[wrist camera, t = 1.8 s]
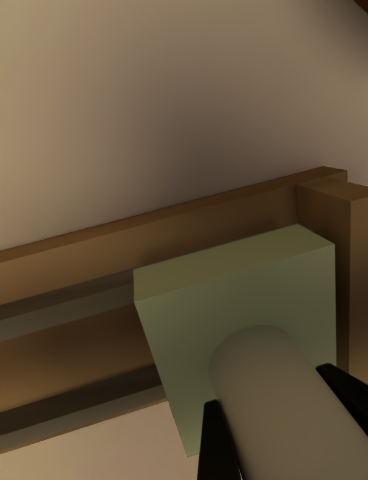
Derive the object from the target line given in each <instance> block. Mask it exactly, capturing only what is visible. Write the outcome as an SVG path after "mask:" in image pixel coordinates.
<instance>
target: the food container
mask: <svg viewBox="0 0 368 480" xmlns="http://www.w3.org/2000/svg"><path fill="white" fill-rule="evenodd" d="M354 1H355V2H356V3H357V4H358V5H359V6H360V7H361V8H362V9H363V10H365V11H366V12H367V13H368V0H354Z"/></svg>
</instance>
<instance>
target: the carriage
mask: <svg viewBox="0 0 368 480" xmlns="http://www.w3.org/2000/svg"><path fill="white" fill-rule="evenodd" d="M133 275H134V303H135V306H136V309H137V312H138V315H139V318H140V321H141V323H142V326H143V329H144V332H145V335H146V338H147V341H148V344H149V347H150V350H151V353H152V355H153V358H154V361H155V364H156V367H157V370H158V373H159V376H160V379H161V382H162V385H163V387H164V390H165V393H166V396H167V399H168V402H169V405H170V408H171V411H172V414H173V417H174V419H175V422H176V425H177V428H178V431H179V434H180V437H181V440H182V443H183V446H184V449H185V451H186V454H187V457H190V456H193V455H196V454H199V452H200V442H201V431H202V420H203V409H204V404H205V402H207V401H210V400H213V399H217V400H218V401H219V404H220V407H221V410H222V413H223V415H224V418H225V421H226V424H227V427H228V430H229V433H230V436H231V439H232V442H233V446H234V450H235V455H236V459H237V463H238V467H239V470H240V473H241V476H242V479H243V480H368V436H367V435H366V433H365V432H364V431H363V430H362V428H361V427H360V426H359V424H358V423H357V422H356V421H355V419H354V418H353V417H352V416H351V414H350V413H349V412H348V410H347V409H346V408H345V407H344V405H343V404H342V403H341V401H340V400H339V399H338V398H337V396H336V395H335V394H334V393H333V391H332V390H331V389H330V387H329V386H328V385H327V384H326V382H325V381H324V380H323V378H322V377H321V376H320V375H319V373H318V372H317V371H316V369H315V368H316V366H318V365H321V364H324V363H330V364H333V365H334V366H336V299H335V244H333V243H332V242H330V241H328V240H326V239H324V238H323V237H321V236H319V235H317V234H315V233H313V232H312V231H310V230H308V229H306V228H304V227H302V226H301V225H299V224H295V225H292V226H288V227H285V228H281V229H277V230H274V231H270V232H267V233H263V234H259V235H256V236H252V237H249V238H245V239H242V240H238V241H234V242H231V243H227V244H224V245H220V246H216V247H213V248H209V249H206V250H202V251H199V252H195V253H191V254H188V255H184V256H181V257H177V258H173V259H170V260H166V261H163V262H159V263H155V264H152V265H148V266H145V267H141V268H138V269H134V270H133Z"/></svg>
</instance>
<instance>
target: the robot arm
mask: <svg viewBox="0 0 368 480" xmlns="http://www.w3.org/2000/svg"><path fill="white" fill-rule="evenodd" d="M315 369H316V371H317V372H318V373H319V375H320V376H321V377H322V378H323V380H324V381H325V382H326V384H327V385H328V386H329V387H330V389H331V390H332V391H333V393H334V394H335V395H336V396H337V398H338V399H339V400H340V401H341V403H342V404H343V405H344V407H345V408H346V409H347V410H348V412H349V413H350V414H351V416H352V417H353V418H354V419H355V421H356V422H357V423H358V424H359V426H360V427H361V428H362V430H363V431H364V432H365V433H366V435H367V436H368V384H366V383H364V382H362V381H361V380H359V379H357V378H355V377H354V376H352V375H350V374H348V373H347V372H345V371H343V370H341V369H340V368H338V367H336V366H334V365H333V364H330V363H324V364H321V365H318V366H316V368H315ZM197 480H241V476H240V472H239V467H238V463H237V459H236V455H235V450H234V446H233V442H232V439H231V436H230V433H229V430H228V427H227V424H226V421H225V418H224V415H223V413H222V410H221V407H220V404H219V401H218V400H217V399H213V400H210V401H207V402H205V404H204V409H203V420H202V431H201V442H200V452H199V463H198V474H197Z"/></svg>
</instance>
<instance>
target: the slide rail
mask: <svg viewBox="0 0 368 480" xmlns="http://www.w3.org/2000/svg"><path fill="white" fill-rule="evenodd" d="M295 224H299V225H301V226H302V227H304V228H306V229H308V230H310V231H312V232H313V233H315V234H317V235H319V236H321V237H323V238H324V239H326V240H328V241H330V242H332V243H333V244H335V299H336V367H338V368H340V369H341V370H343V371H345V372H347V373H348V374H350V375H352V376H354V377H355V378H357V379H359V380H361V381H362V382H364V383H366V384H368V187H367V186H362V185H358V184H354V183H349V182H347V170H341V169H336V168H330V167H324V166H323V167H319V168H316V169H312V170H308V171H304V172H300V173H297V174H293V175H289V176H285V177H281V178H278V179H274V180H270V181H266V182H262V183H259V184H255V185H251V186H247V187H243V188H240V189H236V190H232V191H228V192H224V193H221V194H217V195H213V196H209V197H205V198H202V199H198V200H194V201H190V202H186V203H183V204H179V205H175V206H171V207H167V208H164V209H160V210H156V211H152V212H148V213H144V214H141V215H137V216H133V217H129V218H125V219H122V220H118V221H114V222H110V223H106V224H103V225H99V226H95V227H91V228H87V229H84V230H80V231H76V232H72V233H68V234H65V235H61V236H57V237H53V238H49V239H46V240H42V241H38V242H34V243H30V244H27V245H23V246H19V247H15V248H11V249H8V250H4V251H0V454H2V453H6V452H9V451H12V450H15V449H18V448H21V447H24V446H27V445H31V444H34V443H37V442H40V441H43V440H46V439H49V438H52V437H55V436H59V435H62V434H65V433H68V432H71V431H74V430H77V429H80V428H83V427H87V426H90V425H93V424H96V423H99V422H102V421H105V420H108V419H111V418H115V417H118V416H121V415H124V414H127V413H130V412H133V411H136V410H139V409H143V408H146V407H149V406H152V405H155V404H158V403H161V402H164V401H168V399H167V396H166V393H165V390H164V387H163V385H162V382H161V379H160V376H159V373H158V370H157V367H156V364H155V361H154V358H153V355H152V353H151V350H150V347H149V344H148V341H147V338H146V335H145V332H144V329H143V326H142V323H141V321H140V318H139V315H138V312H137V309H136V306H135V303H134V275H133V270H134V269H138V268H141V267H145V266H148V265H152V264H155V263H159V262H163V261H166V260H170V259H173V258H177V257H181V256H184V255H188V254H191V253H195V252H199V251H202V250H206V249H209V248H213V247H216V246H220V245H224V244H227V243H231V242H234V241H238V240H242V239H245V238H249V237H252V236H256V235H259V234H263V233H267V232H270V231H274V230H277V229H281V228H285V227H288V226H292V225H295Z"/></svg>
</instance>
